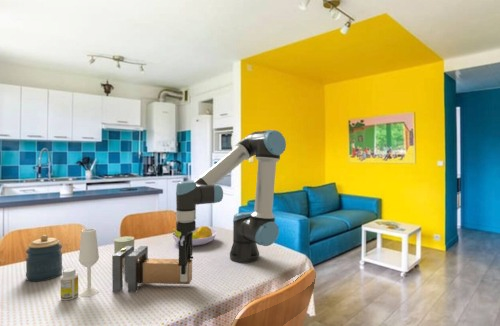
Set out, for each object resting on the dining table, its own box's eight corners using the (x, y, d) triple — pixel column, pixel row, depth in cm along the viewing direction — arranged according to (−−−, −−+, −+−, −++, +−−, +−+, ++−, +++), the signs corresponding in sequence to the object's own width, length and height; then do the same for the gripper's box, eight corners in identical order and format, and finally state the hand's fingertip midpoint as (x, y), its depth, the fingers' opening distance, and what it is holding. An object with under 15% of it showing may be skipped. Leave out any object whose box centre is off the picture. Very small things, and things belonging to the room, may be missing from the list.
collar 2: (147, 278, 124) (147, 246, 123) (135, 292, 112) (135, 256, 111) (140, 278, 124) (140, 246, 123) (127, 292, 112) (127, 255, 111)
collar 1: (133, 278, 124) (133, 244, 123) (120, 291, 112) (120, 254, 111) (126, 278, 124) (126, 244, 124) (112, 291, 112) (112, 254, 112)
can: (127, 266, 137) (127, 241, 136) (109, 265, 139) (109, 240, 138) (138, 259, 146) (138, 235, 146) (122, 258, 148) (121, 234, 147)
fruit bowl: (204, 234, 193) (204, 217, 193) (224, 244, 171) (224, 225, 171) (162, 241, 178) (162, 222, 177) (178, 253, 155) (178, 232, 155)
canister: (39, 284, 118) (39, 240, 117) (18, 279, 122) (17, 237, 122) (69, 272, 130) (69, 232, 130) (49, 267, 135) (48, 229, 134)
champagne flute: (97, 295, 109) (96, 231, 108) (76, 297, 107) (76, 232, 106) (100, 287, 115) (100, 227, 115) (81, 289, 114) (81, 228, 113)
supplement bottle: (75, 292, 111) (74, 265, 111) (80, 296, 108) (80, 269, 107) (58, 297, 107) (58, 270, 107) (63, 302, 104) (63, 274, 103)
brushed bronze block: (192, 278, 119) (192, 259, 119) (189, 284, 114) (189, 263, 114) (134, 277, 120) (134, 258, 120) (128, 282, 115) (128, 262, 115)
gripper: (182, 215, 125) (182, 269, 126) (169, 225, 107) (169, 288, 108) (199, 215, 125) (199, 269, 126) (190, 226, 107) (189, 288, 108)
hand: (185, 278), depth 117 cm, fingers closed on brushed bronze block, 5 cm apart
